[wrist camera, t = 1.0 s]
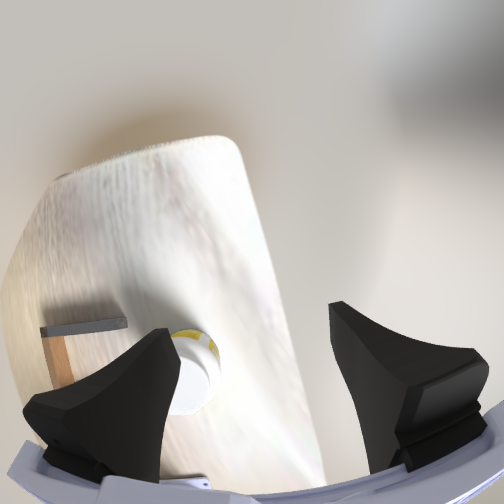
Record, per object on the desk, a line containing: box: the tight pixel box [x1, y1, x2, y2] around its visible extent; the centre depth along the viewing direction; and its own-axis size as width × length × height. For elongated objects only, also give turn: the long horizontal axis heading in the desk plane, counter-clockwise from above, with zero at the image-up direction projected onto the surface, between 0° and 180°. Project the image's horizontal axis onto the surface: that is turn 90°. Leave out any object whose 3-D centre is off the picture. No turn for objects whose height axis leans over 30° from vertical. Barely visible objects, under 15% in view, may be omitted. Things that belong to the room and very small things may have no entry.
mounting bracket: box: [40, 317, 128, 390], centre depth 20 cm, size 9×9×3 cm
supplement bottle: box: [168, 329, 221, 415], centre depth 19 cm, size 5×5×10 cm
